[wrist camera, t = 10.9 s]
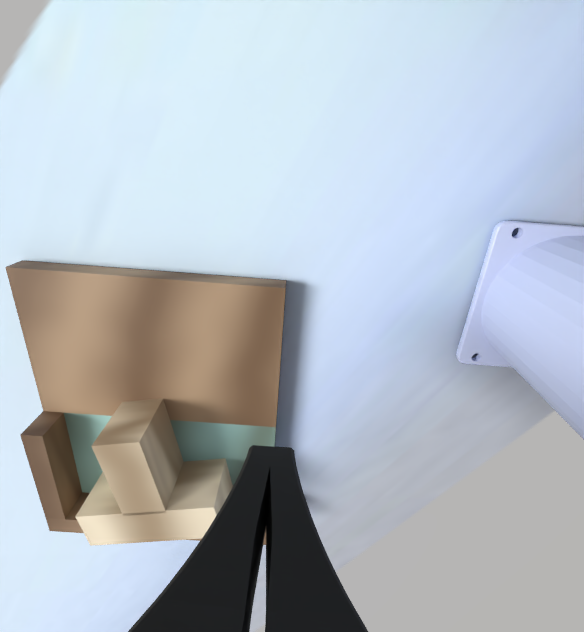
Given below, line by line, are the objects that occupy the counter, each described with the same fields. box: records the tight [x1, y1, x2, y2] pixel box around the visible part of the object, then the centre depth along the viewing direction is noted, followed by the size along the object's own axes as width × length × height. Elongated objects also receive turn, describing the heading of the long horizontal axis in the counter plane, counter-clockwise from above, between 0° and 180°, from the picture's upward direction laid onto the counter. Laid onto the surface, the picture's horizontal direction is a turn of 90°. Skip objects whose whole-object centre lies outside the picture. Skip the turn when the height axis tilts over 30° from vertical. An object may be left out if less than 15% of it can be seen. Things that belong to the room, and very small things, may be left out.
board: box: [6, 261, 286, 545], centre depth 21 cm, size 14×17×3 cm
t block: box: [76, 399, 233, 545], centre depth 21 cm, size 8×8×4 cm
